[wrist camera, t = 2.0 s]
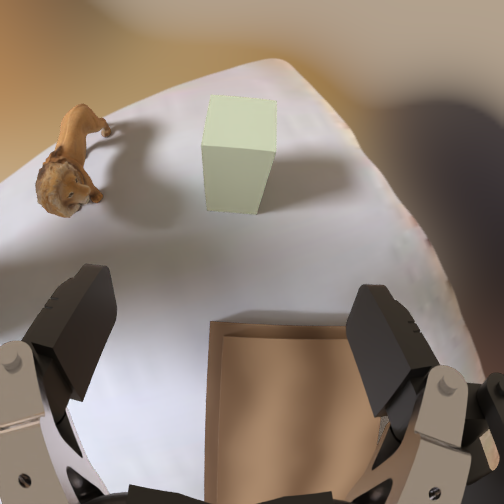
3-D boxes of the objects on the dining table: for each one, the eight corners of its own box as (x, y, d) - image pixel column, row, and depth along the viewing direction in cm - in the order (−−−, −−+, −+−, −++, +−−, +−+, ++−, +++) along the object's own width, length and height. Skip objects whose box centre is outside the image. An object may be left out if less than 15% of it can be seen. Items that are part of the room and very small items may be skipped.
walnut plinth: (205, 488, 19) (203, 517, 14) (211, 322, 24) (209, 320, 19) (352, 480, 20) (374, 501, 16) (368, 326, 25) (397, 324, 20)
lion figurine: (118, 233, 25) (77, 189, 16) (69, 246, 24) (17, 211, 15) (112, 116, 28) (90, 60, 19) (72, 130, 27) (43, 79, 19)
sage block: (206, 210, 26) (201, 145, 16) (212, 168, 27) (210, 94, 18) (256, 214, 26) (276, 151, 17) (258, 172, 28) (276, 100, 18)
